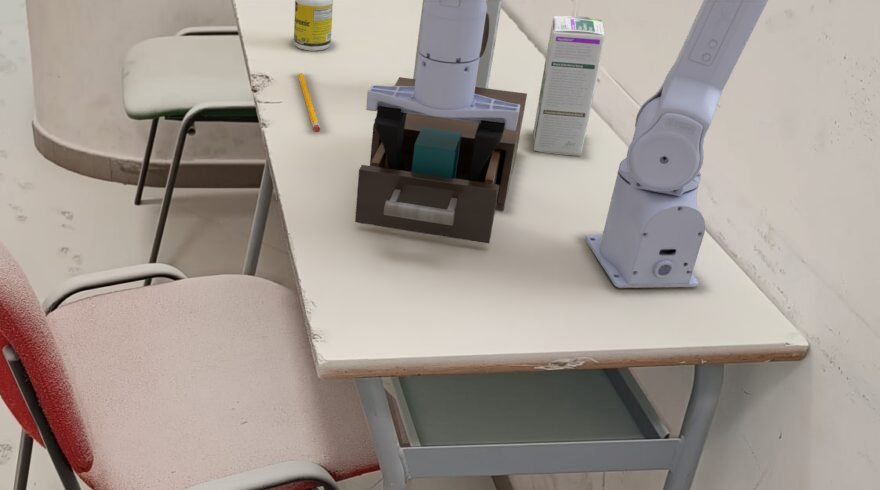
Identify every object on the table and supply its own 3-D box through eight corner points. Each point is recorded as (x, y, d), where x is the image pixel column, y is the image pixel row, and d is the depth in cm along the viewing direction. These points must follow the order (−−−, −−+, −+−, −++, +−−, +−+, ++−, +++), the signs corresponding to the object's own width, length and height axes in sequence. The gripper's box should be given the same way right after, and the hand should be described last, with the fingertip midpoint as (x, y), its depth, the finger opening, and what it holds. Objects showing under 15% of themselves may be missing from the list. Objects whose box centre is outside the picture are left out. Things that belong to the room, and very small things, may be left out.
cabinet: (503, 211, 106) (515, 144, 102) (367, 190, 109) (373, 124, 105) (516, 155, 118) (527, 93, 113) (393, 138, 121) (399, 76, 116)
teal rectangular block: (446, 212, 101) (455, 149, 97) (407, 206, 102) (414, 144, 98) (453, 193, 105) (461, 132, 101) (415, 188, 105) (422, 126, 101)
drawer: (483, 265, 95) (493, 210, 92) (345, 242, 98) (349, 188, 94) (503, 185, 109) (511, 135, 106) (381, 167, 112) (386, 117, 109)
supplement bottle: (287, 41, 148) (289, -27, 143) (320, 37, 150) (323, -31, 145) (303, 53, 144) (306, -17, 139) (337, 49, 146) (341, -20, 141)
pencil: (313, 132, 122) (313, 127, 121) (298, 78, 137) (298, 73, 136) (320, 132, 122) (320, 126, 121) (303, 78, 137) (304, 73, 136)
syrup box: (582, 157, 118) (608, 33, 109) (530, 151, 119) (553, 28, 110) (580, 137, 122) (605, 18, 114) (530, 132, 123) (552, 13, 115)
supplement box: (407, 108, 128) (422, -28, 119) (417, 83, 136) (431, -47, 126) (483, 117, 127) (504, -20, 117) (488, 91, 134) (509, -40, 124)
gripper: (531, 49, 96) (508, 178, 104) (381, 30, 99) (370, 158, 107) (524, 73, 90) (501, 209, 98) (366, 53, 94) (355, 186, 101)
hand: (432, 184), depth 102 cm, fingers open, 7 cm apart
